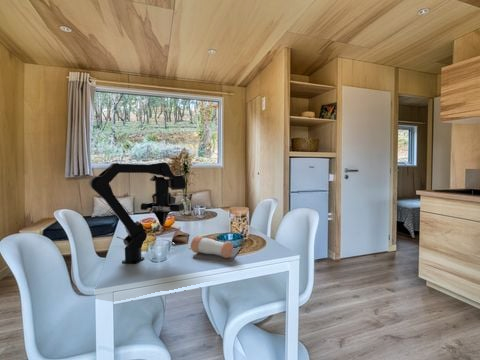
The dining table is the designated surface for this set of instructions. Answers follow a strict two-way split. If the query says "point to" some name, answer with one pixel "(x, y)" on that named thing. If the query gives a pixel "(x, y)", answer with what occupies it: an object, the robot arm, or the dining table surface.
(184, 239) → the sunglasses case
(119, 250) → the dining table surface
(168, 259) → the dining table surface
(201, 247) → the pepper shaker
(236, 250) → the rubber mat
